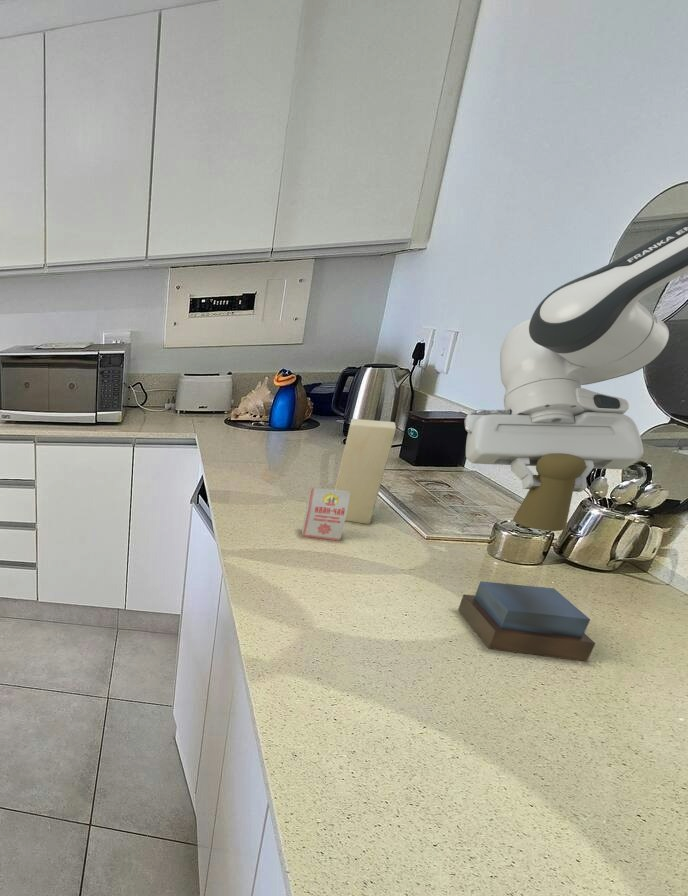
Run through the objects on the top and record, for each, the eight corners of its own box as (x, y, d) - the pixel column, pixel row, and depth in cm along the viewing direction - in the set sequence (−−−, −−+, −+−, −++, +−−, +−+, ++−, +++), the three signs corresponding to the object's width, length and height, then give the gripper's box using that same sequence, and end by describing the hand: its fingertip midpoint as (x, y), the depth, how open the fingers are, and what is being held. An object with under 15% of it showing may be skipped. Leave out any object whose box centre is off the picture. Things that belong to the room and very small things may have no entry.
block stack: (544, 620, 88) (559, 586, 86) (587, 661, 79) (604, 624, 76) (457, 610, 92) (469, 577, 89) (488, 648, 82) (502, 612, 80)
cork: (565, 521, 90) (593, 453, 85) (565, 534, 86) (594, 463, 81) (514, 513, 94) (537, 447, 89) (511, 525, 90) (536, 456, 85)
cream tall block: (370, 513, 129) (395, 420, 121) (370, 524, 124) (396, 428, 115) (329, 508, 133) (350, 417, 125) (328, 518, 128) (349, 424, 119)
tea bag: (301, 529, 123) (311, 485, 119) (338, 534, 120) (349, 488, 116) (302, 536, 120) (312, 490, 116) (340, 540, 117) (351, 494, 113)
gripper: (473, 398, 92) (481, 475, 87) (642, 400, 85) (660, 483, 81) (454, 420, 97) (460, 493, 93) (611, 423, 91) (626, 502, 86)
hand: (554, 489), depth 87 cm, fingers closed on cork, 4 cm apart
